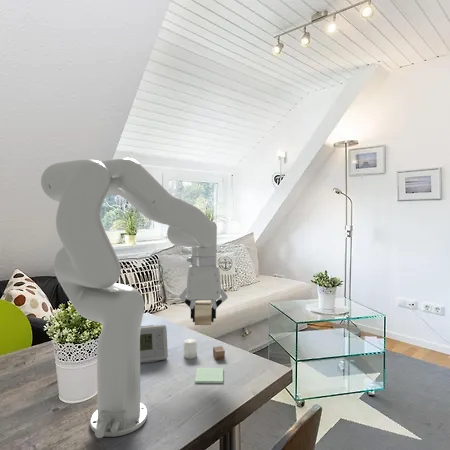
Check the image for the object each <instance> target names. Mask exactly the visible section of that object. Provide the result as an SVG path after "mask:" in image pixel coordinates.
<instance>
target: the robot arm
mask: <svg viewBox="0 0 450 450" xmlns="http://www.w3.org/2000/svg"><path fill="white" fill-rule="evenodd" d="M40 186H41V188H42V191H43V192H44V193H45V195H46V196H48V197H49V198H50V199H52V200H53V201H56V202H58V208H57V211H56V215H55V226H56V231H57V234H58V236H59V239H60V242H61V244H62V245H63V246H61V248H60V249H59V250H58V251H57V253H56V255H55V257H54V262H53V268H54V274H55V277H56V279H57V281H58V283H59V285H60V286H61V288H62V289H63V292H64V293H65V295H66V297H67V298H68V300H69V302H70V303H71V304H72V307H73V308H74V309H75V311H76V312H77V313H78V314H79V315H80V316H81V317H83V318H84V319H87V320H89V321H93V322H95V323H99V324H101V325H102V328H101V329H102V330H101V332H100V334H99V337H98V339H97V343H96V375H97V376H96V377H97V378H96V380H97V381H96V382H97V383H96V387H97V389H96V390H97V392H96V393H97V395H96V396H97V400H96V401H97V409H96V410H95V411H94V412H93V413H92V415H91V416H90V421H89V423H90V425H89V427H90V429H91V430H92V431H93V432H94V435H95V437H96V438H97V439H101V438H103V437H111V438H112V437H114V438H115V437H120V436H125V435H128V434H130V433H133V432H134V431H137V430H138V429H139V428H141V427H142V426H143V425H144V424H145V423H146V421H147V420H148V419H147V418H148V409H147V407H146V406H145V405H144V404H143V403H142V402H141V364H140V331H141V326H142V322H143V317H144V313H145V300H144V297H143V295H142V294H141V292H140V291H139V290H138V289H136V288H135V287H133V286H131V285H127V284H123V283H120V282H119V283H117V282H118V281H119V279H120V277H121V273H122V272H121V271H122V268H121V263H120V260H119V256H117V253H116V251H115V249H114V247H113V245H112V243H111V241H110V239H109V237H108V234H107V232H106V230H105V228H104V225H103V223H102V216H101V215H102V214H101V213H102V208H103V204H104V200H105V198H106V196H115V195H116V196H120V197H122V198H123V199H124V200H125V201H127V202H128V203H129V204H130V205H131V206H132V207H134V208H135V209H136V210H137V211H138V212H139V213H140V214H142V215H143V216H144V217H145V218H146V219H149V220H150V221H153V222H156V223H159V224H162V225H167V226H168V228H167V230H166V231H167V233H166V236H167V239H168V241H169V242H170V243H171V244H172V245H174V246H177V247H182V248H183V247H184V248H191V256H190V257H186V263H188V264H189V263H190V265H189V266H188V270H187V277H186V288H185V289H184V290H183V291H182V293H181V294H180V295H179V299H180V300H181V301H182V302H183V303H184V304H185V305H187V307H188V308H189V309H190V319H191V320H192V323H195V302H196V301H211V302H212V316H211V323H214V322H215V321H214V320H216V319H217V309H218V308H219V306H220V305H221V304H222V303H224V302H225V301H227V299H228V295H227V294H226V292H225V291H224V289H222V287H221V275H220V274H221V273H220V267H219V265H217V244H218V243H217V240H218V239H217V238H218V235H217V234H218V231H217V230H218V229H217V228H218V227H217V223H216V222H214V221H211V220H210V218H209V217H208V216H207V215H206V214H205V213H204V212H203V211H202V210H201V209H199V208H198V207H196V206H194V205H193V204H191V203H189V202H187V201H185V200H183V199H182V198H180V197H177V196H176V195H173V194H171V193H170V192H169V191H168V190H166V188H164V186H163V185H162V184H160V182H159V181H158V180H157V179H156V178H155V177H154V176H153V175H152V174H151V173H150V172H149V171H148V170H147V169H146V168H145V167H144V166H143V165H142V164H141V163H140V162H139V161H137V160H136V159H134V158H129V157H121V158H120V157H119V158H114V159H105V160H96V159H90V158H89V159H88V158H87V159H77V160H76V159H75V160H71V161H61V162H56V163H54V164H53V163H52V164H50V165H49V166H47V168H46V169H44V171H43V172H42V174H41V177H40Z"/></svg>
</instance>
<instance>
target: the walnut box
mask: <svg viewBox="0 0 450 450" xmlns="http://www.w3.org/2000/svg"><path fill="white" fill-rule="evenodd" d="M212 356H213V358H214V360H215V361H223V359H225V358H226V350H225V349H224V347H223V346H222V345H220V346H219V345H217V346H213V347H212Z"/></svg>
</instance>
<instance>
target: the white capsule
mask: <svg viewBox="0 0 450 450" xmlns="http://www.w3.org/2000/svg"><path fill="white" fill-rule="evenodd" d="M197 357H198V340H197V339H194V338H188V339H185V340H183V358H185V359H186V360H192V359H196V358H197Z"/></svg>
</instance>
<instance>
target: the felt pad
mask: <svg viewBox="0 0 450 450" xmlns="http://www.w3.org/2000/svg"><path fill="white" fill-rule="evenodd" d="M194 384H224V368H223V367H197V368H196V371H195V378H194Z"/></svg>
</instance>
